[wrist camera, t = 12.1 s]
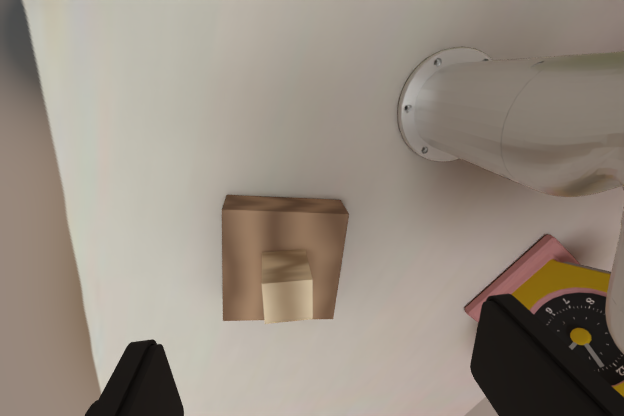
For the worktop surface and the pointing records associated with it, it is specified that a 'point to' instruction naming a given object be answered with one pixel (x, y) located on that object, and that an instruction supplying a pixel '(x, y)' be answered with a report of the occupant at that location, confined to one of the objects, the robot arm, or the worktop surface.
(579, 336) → the pink and yellow block
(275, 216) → the brown wooden flat block
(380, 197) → the worktop surface
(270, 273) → the maple block
